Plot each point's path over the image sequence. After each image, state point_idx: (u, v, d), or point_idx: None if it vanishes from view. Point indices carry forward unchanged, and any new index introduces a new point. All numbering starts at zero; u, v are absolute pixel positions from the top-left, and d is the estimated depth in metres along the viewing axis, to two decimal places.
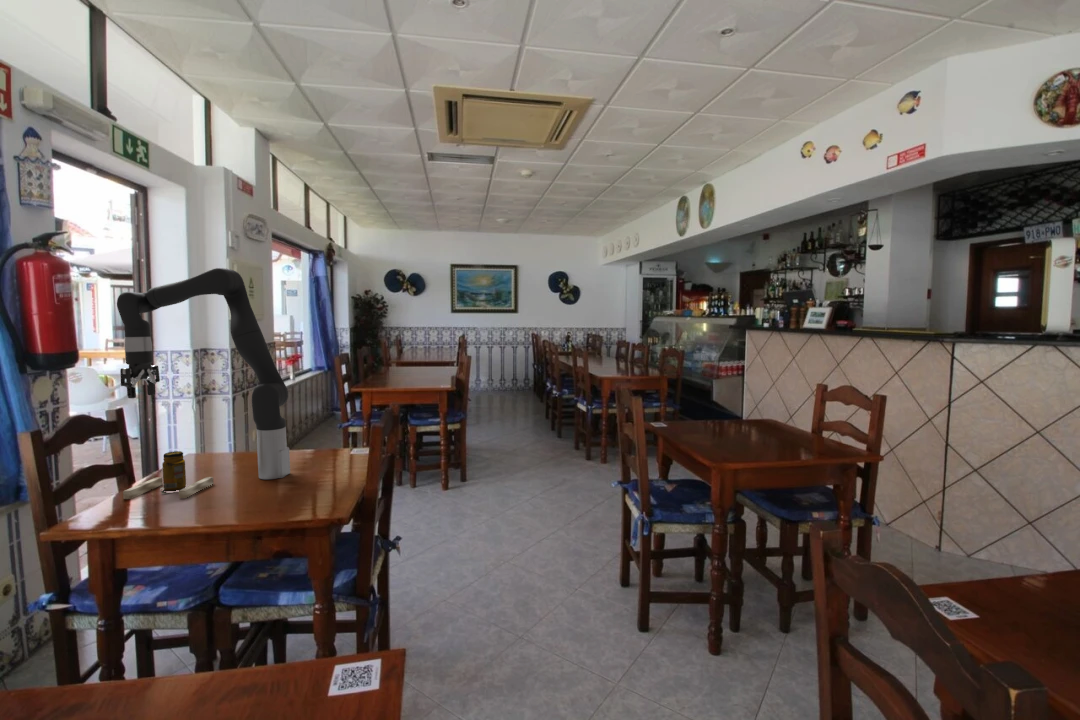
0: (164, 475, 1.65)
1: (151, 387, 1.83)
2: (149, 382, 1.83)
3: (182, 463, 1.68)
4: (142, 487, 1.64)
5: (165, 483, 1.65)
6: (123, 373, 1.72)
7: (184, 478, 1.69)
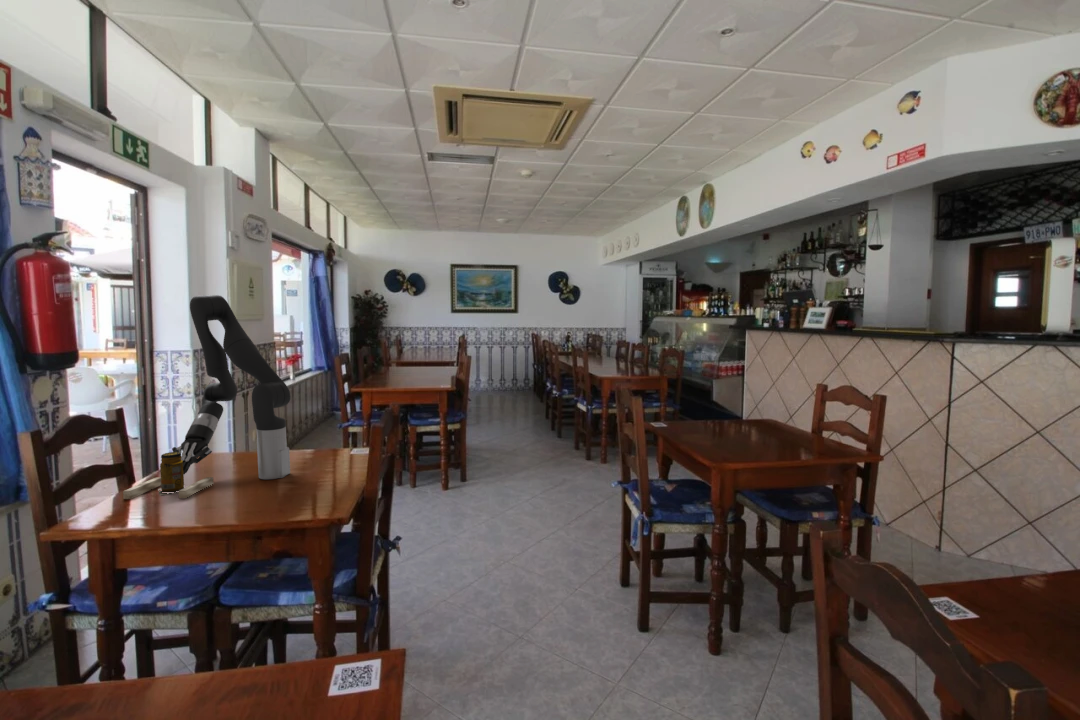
0: (162, 476, 1.64)
1: None
2: None
3: (180, 464, 1.67)
4: (142, 487, 1.64)
5: (163, 484, 1.64)
6: None
7: (182, 479, 1.68)
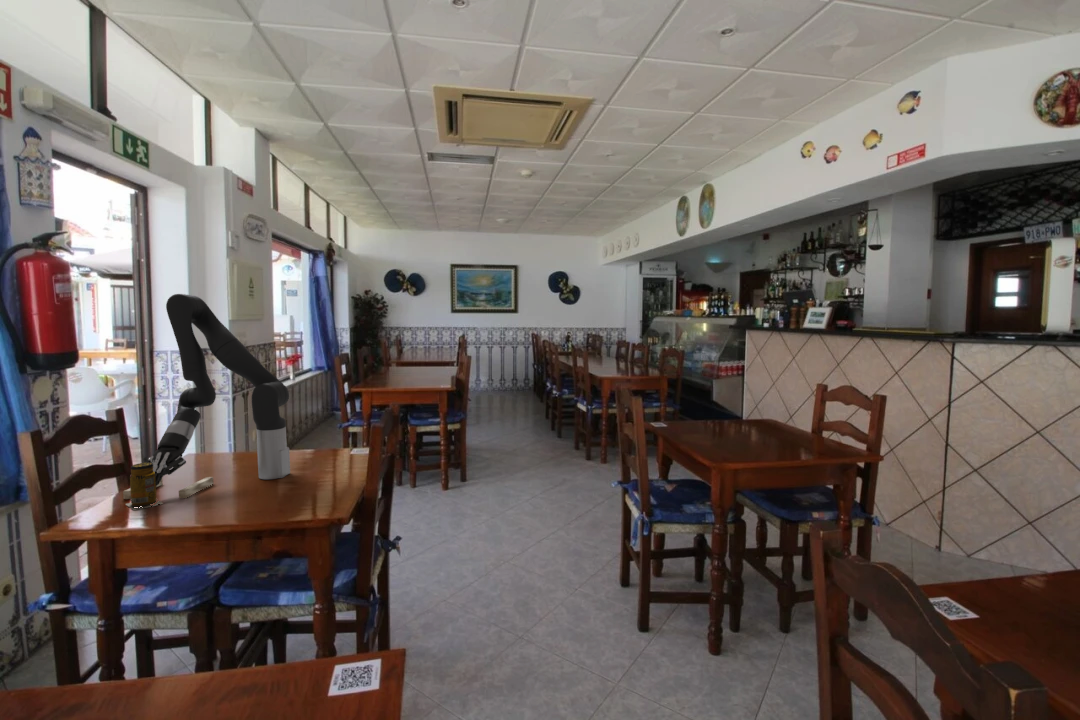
0: (133, 489, 1.51)
1: None
2: None
3: (153, 475, 1.54)
4: None
5: (134, 498, 1.51)
6: None
7: (155, 491, 1.55)
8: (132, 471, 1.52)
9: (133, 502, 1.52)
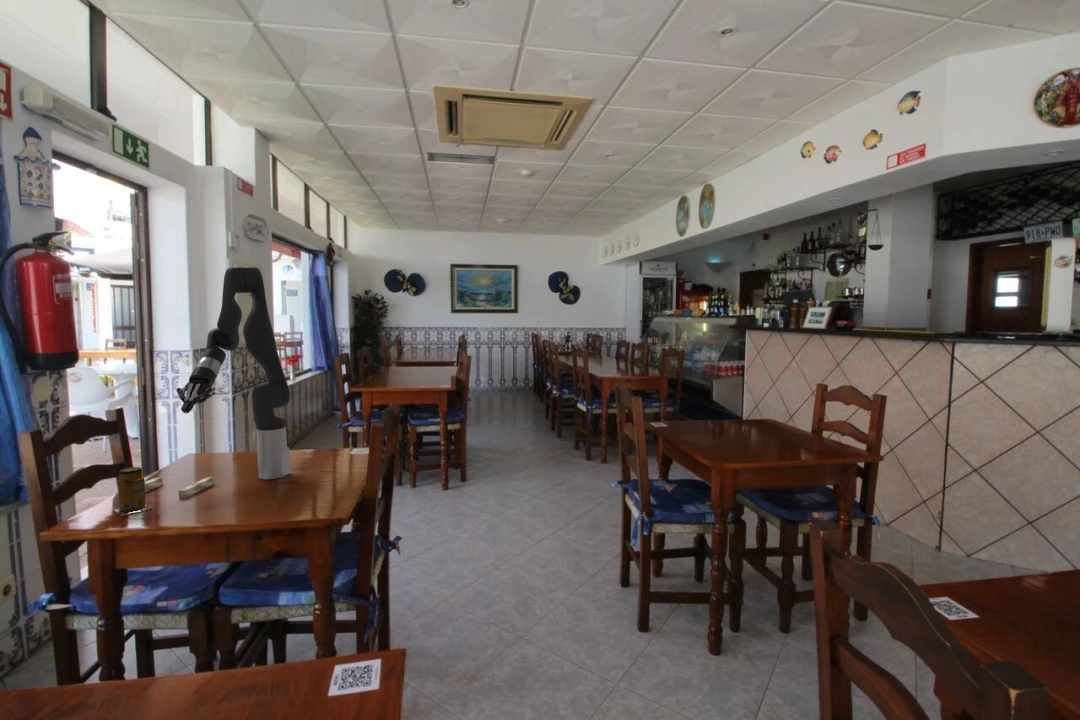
0: (121, 495, 1.47)
1: None
2: None
3: (142, 480, 1.50)
4: None
5: (123, 503, 1.47)
6: None
7: (144, 496, 1.51)
8: (120, 476, 1.47)
9: (122, 508, 1.47)
